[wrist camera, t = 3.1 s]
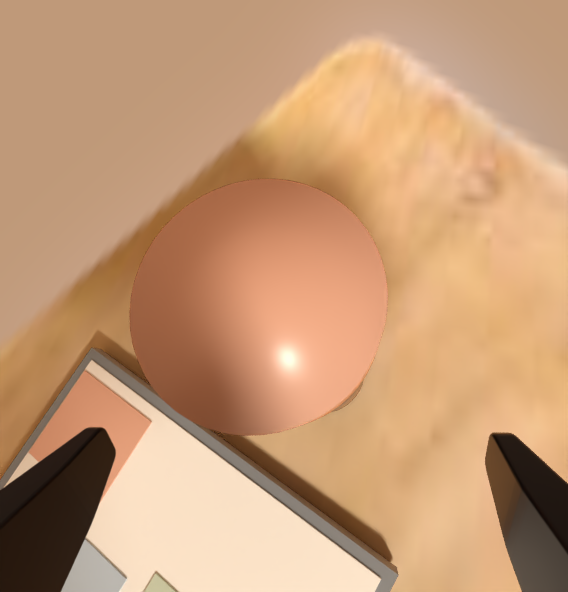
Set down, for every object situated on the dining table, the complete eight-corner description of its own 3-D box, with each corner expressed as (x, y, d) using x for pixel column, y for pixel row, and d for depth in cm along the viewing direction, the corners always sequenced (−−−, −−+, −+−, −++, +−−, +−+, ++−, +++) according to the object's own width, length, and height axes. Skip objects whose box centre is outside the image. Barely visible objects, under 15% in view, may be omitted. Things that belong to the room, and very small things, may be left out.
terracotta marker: (384, 350, 19) (438, 243, 6) (337, 434, 18) (293, 499, 6) (304, 305, 20) (220, 145, 8) (257, 382, 19) (82, 341, 7)
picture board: (396, 567, 16) (398, 576, 15) (229, 895, 14) (219, 929, 13) (101, 349, 21) (89, 346, 20) (-49, 567, 20) (-70, 576, 19)
